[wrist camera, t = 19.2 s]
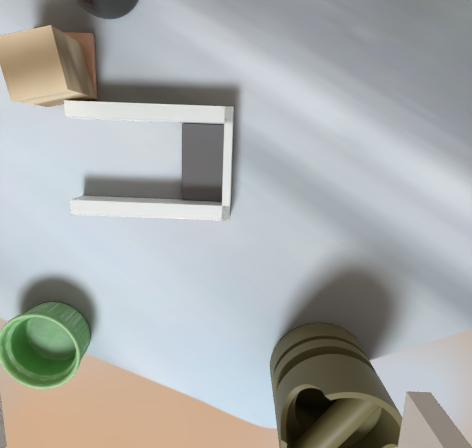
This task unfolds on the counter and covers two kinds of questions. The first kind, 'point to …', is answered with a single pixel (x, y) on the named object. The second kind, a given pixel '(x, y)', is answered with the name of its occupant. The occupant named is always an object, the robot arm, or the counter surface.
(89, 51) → the tile
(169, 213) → the channel
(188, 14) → the counter surface
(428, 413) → the robot arm
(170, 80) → the counter surface
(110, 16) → the supplement bottle
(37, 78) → the block
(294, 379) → the piston
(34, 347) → the ramekin
